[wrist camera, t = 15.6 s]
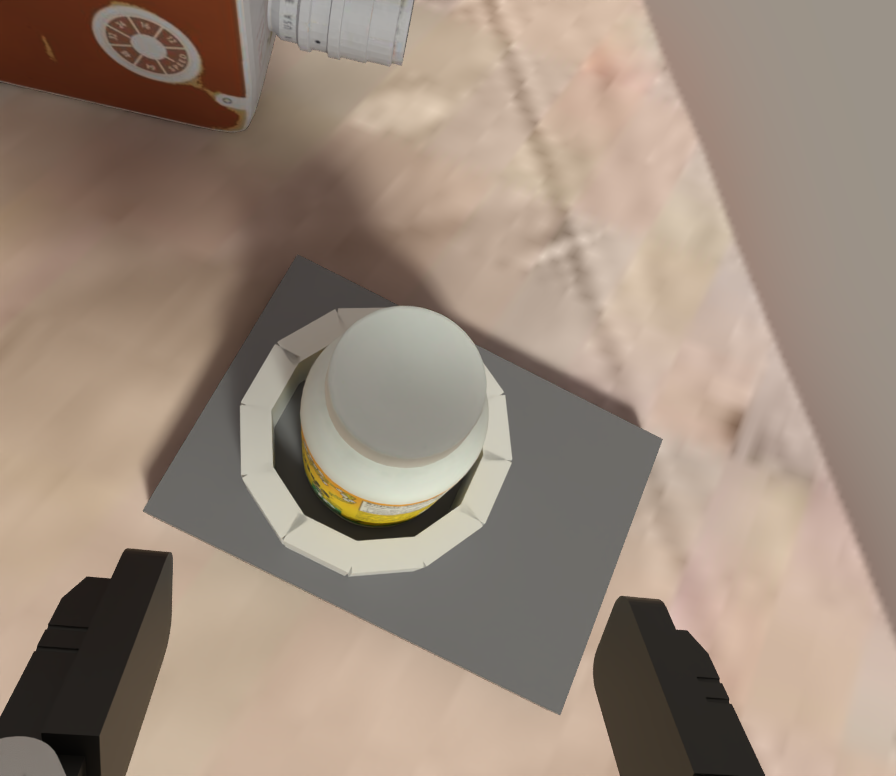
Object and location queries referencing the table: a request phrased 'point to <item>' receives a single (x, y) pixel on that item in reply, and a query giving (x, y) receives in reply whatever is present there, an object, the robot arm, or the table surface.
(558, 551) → the mount plate
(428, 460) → the supplement bottle
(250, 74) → the cine camera
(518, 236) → the table surface
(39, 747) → the robot arm
